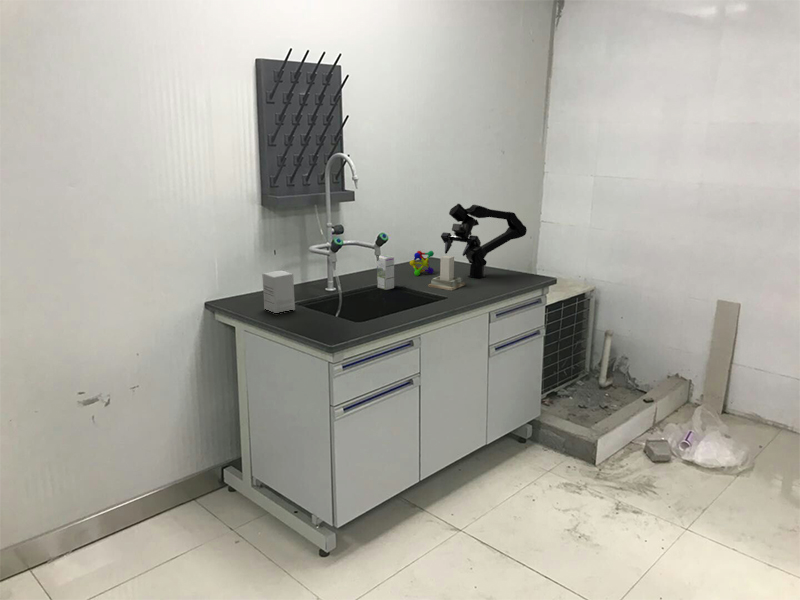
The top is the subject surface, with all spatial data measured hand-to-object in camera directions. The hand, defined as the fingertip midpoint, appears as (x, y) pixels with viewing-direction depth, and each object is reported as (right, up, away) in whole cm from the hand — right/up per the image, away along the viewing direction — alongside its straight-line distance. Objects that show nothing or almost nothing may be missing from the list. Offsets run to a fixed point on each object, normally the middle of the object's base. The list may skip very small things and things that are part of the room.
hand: (454, 254), depth 290 cm
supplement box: (-73, -25, -41) cm, 87 cm away
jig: (-4, -15, -2) cm, 15 cm away
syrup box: (-32, -16, -6) cm, 36 cm away
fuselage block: (-4, -14, -2) cm, 14 cm away
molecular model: (-14, -8, +22) cm, 27 cm away
